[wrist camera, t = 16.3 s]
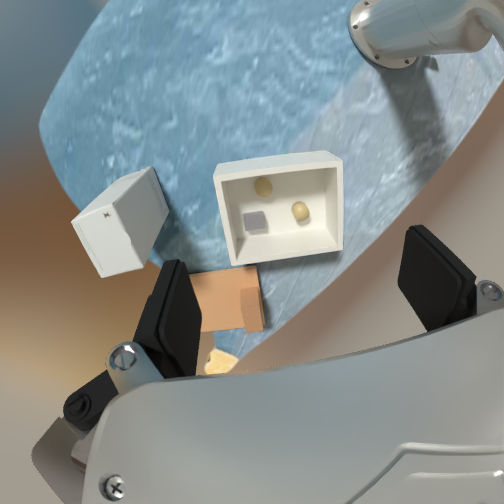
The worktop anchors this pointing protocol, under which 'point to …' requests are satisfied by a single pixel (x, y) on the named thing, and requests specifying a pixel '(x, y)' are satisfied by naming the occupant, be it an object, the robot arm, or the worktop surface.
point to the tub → (281, 206)
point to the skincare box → (123, 223)
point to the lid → (229, 299)
